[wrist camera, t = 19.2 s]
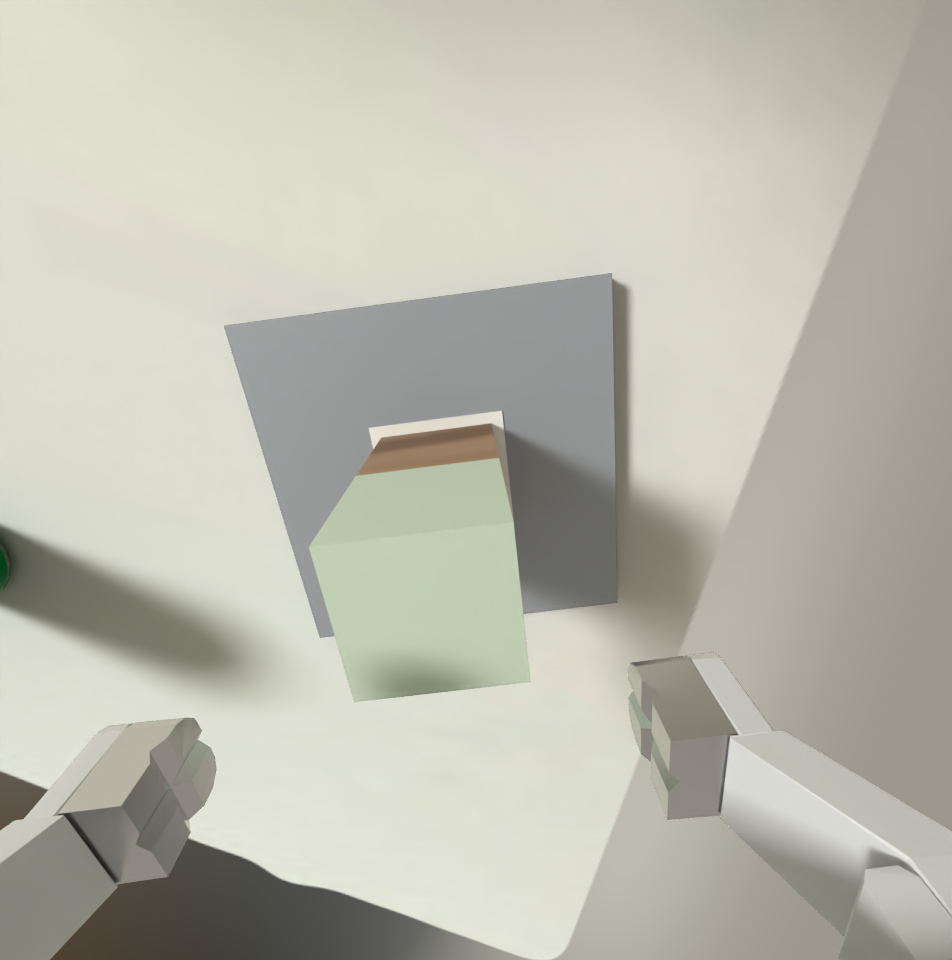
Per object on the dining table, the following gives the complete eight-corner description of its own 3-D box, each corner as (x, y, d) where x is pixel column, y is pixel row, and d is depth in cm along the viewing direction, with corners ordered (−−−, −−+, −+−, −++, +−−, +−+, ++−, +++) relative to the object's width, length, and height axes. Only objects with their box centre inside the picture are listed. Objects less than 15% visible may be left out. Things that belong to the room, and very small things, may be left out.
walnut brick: (381, 437, 20) (355, 475, 16) (491, 423, 20) (499, 457, 15) (401, 535, 22) (384, 596, 17) (503, 522, 22) (513, 580, 17)
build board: (235, 325, 19) (222, 325, 18) (605, 275, 19) (612, 272, 18) (325, 625, 25) (319, 638, 24) (611, 591, 25) (617, 603, 24)
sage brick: (355, 475, 16) (308, 547, 11) (498, 457, 15) (513, 522, 11) (384, 596, 17) (354, 702, 13) (512, 580, 17) (530, 681, 13)
